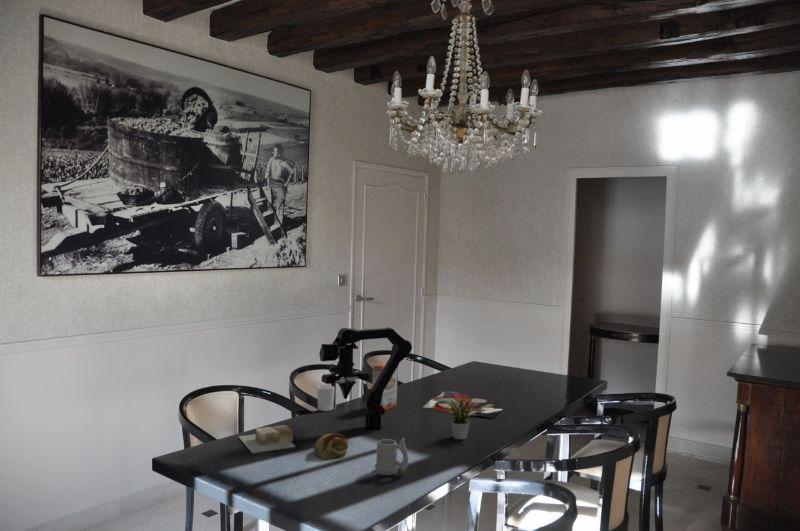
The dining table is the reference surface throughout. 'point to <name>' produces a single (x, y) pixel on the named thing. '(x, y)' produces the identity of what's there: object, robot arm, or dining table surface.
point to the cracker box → (387, 387)
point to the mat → (257, 447)
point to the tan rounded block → (274, 434)
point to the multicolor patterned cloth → (444, 407)
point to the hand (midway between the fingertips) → (345, 398)
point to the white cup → (325, 397)
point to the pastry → (331, 446)
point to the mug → (390, 456)
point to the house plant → (460, 419)
